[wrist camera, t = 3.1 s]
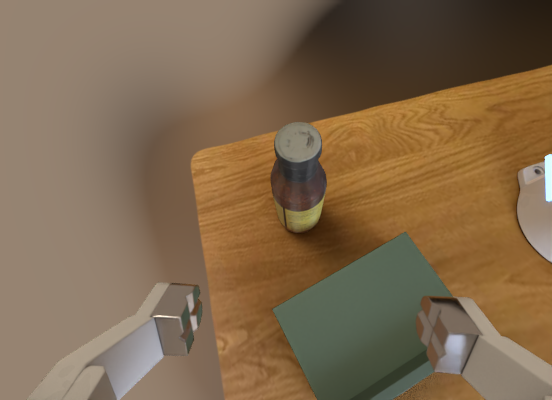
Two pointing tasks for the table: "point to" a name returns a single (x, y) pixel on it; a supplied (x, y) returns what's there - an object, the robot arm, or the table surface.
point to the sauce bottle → (298, 177)
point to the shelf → (364, 325)
